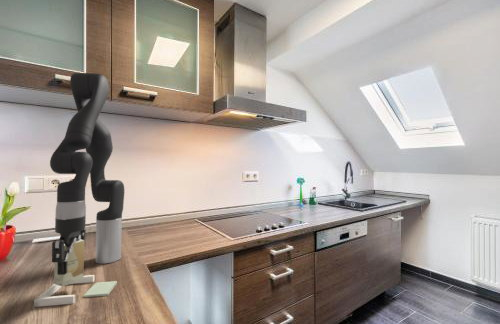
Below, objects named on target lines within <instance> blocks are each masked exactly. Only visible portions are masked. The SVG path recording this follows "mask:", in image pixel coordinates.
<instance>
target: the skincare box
mask: <svg viewBox="0 0 500 324" xmlns="http://www.w3.org/2000/svg"><path fill="white" fill-rule="evenodd" d="M84 246H85V247H86V239H85V240H81V239H80V240H78V241H77V240H76V242H75V244H74V246H73V249H72V252H71V253H70V254H69V256H68V259H67V273H66V274H64V275H58V274H57V269H58V263H57V262H54V273H53V274H54V275H53V277H54V278H53V285H54V284H56V285H59V286H62V287H66V286H68V285H71V284H70V283H73V282H75V281H78V280H80V279H83V276H84V268H85V266H84V265H85V264H84V263H85V247H84ZM68 249H69V247H67V246H66V245H65V246H64V250H68ZM57 255H58V254H56V258H57ZM64 256H65V253H64Z"/></svg>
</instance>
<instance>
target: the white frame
mask: <svg viewBox="0 0 500 324" xmlns="http://www.w3.org/2000/svg"><path fill="white" fill-rule="evenodd" d="M88 283H95V274H89V275H83V279H80V280H78V281H75V282H73V283H70V284H69V285H73V284H74V285H75V284H88ZM62 287H63V286H59V285H56V284H54V283H53V284H52V285H51V286H50V287H49V288H47V289H46V290H44V291H43V292H42V293H41V294H40V295H38V296H37V297H36V298H34V300H33V308H37V307H38V308H39V307H47V306H49V307H50V306H59V305H71V304H72V305H73V304H74V303H75V302H76V294H66V295H55V296H54V294H55V293H56V292H57V291H59V290H60V289H61V288H62Z"/></svg>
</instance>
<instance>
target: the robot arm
mask: <svg viewBox="0 0 500 324" xmlns="http://www.w3.org/2000/svg"><path fill="white" fill-rule="evenodd" d="M69 80H70V81H69V82H70V89H71V93H72V96H73V100H74V103H75V106H76V110H77V112H76V113H75V114H74V115H73V116H72V117H71V119H70V120H69V122H68V126H67V128H66V132H65V135H64V138H63V140H62V141H61V142H60V144H59V145H58V146H57V147H56V148H55V150H54V152H52V155H51V157H50V160H49V167H50V168H51V170H52V171H53V172H54V173H55V174H58V175H75V176H74V178H73V179H71V180H68V181H63V182H60V183H58V185H57V187H56V191H57V192H56V204H55V205H56V206H55V219H54V223H55V226H54V231H55V233H57V234H59V235H60V236H59V240H54V241H52V243H51V263H55V262H57V263H58V269H57V274H58V275H64V274H66V273H67V259H68V256H69V254H70V253H71V252H72V249H73V246H74V244H75V242H76V240H77V241H78V240H80V239H81V240H85V241H86V219H87V218H86V216H87V215H86V211H87V206H86V205H87V204H86V187H87V182H88V178H89V177H90V178H89V179H90V188H91V194H92V198H93V199H94V201H96V202H99V203H109V204H108V207H107V208H105V209H103V210H100V211H97V213H96V223H95V227H96V230H95V259H94V260H95V262H94V263H96V264H103V265H104V264H109V263H114V262H117V261H119V260H120V259H122V236H123V235H122V232H123V231H122V229H123V228H122V226H123V225H122V224H123V223H122V222H123V210H124V201H125V186H124V183H123V181H121V180H117V179H106V176H105V168H106V165H107V163H108V161H109V159H110V157H111V156H112V153H113V147H114V146H113V140H112V135H111V132H110V130H109V129H108V128H107V126H106V125H105V124H104V123H103V122H102V121H101V120H100V118H99V116H100V113H101V112H102V110H103V108H104V105H105V103H106V101H107V99H108V97H109V93H110V84H109V82H108V81H109V80H108V79H107V77H106V76H105V75H103V74H102V73H96V72H94V73H93V72H91V73H89V72H74V73H73V74H71V75H70V79H69ZM80 150H85V151H80ZM65 245H66V246H67V247H69V249H68V250H64V246H65ZM85 247H86V245H85V246H84V248H85ZM64 253H65V256H64ZM56 254H58V255H57V258H56Z"/></svg>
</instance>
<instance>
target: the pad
mask: <svg viewBox="0 0 500 324" xmlns="http://www.w3.org/2000/svg"><path fill="white" fill-rule="evenodd" d="M117 284H118V281H117V280H113V281H101V282H98V281H97V282H94V284H93V285H92V286H91V287H90V288H89V289H88V290H87V291H86V292H85V293H84V295H83V298H93V297H104V296H106V297H107V296H109V295H110V293H111V292H112V290H113V289H114V288H115V286H116V285H117Z"/></svg>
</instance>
